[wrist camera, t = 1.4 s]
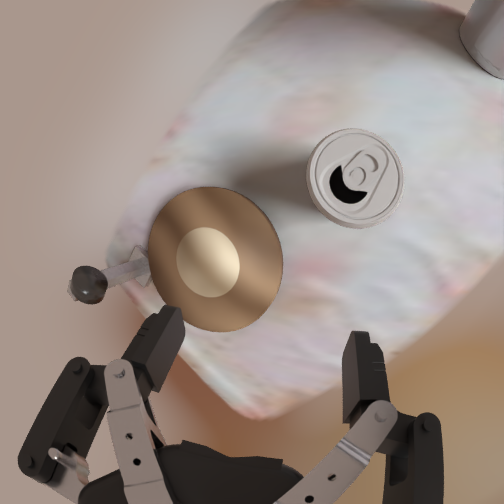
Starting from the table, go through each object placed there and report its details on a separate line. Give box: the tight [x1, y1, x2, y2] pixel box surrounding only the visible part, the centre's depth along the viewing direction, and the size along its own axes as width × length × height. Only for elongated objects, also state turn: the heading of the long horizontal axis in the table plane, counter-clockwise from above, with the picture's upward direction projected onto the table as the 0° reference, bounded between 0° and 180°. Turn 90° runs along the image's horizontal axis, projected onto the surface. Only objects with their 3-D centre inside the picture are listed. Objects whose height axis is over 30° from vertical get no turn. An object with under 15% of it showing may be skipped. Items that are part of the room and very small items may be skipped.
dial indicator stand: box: [67, 245, 152, 304], centre depth 29 cm, size 4×5×13 cm
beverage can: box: [306, 129, 405, 229], centre depth 20 cm, size 6×6×12 cm
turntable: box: [148, 187, 283, 332], centre depth 29 cm, size 16×16×1 cm
